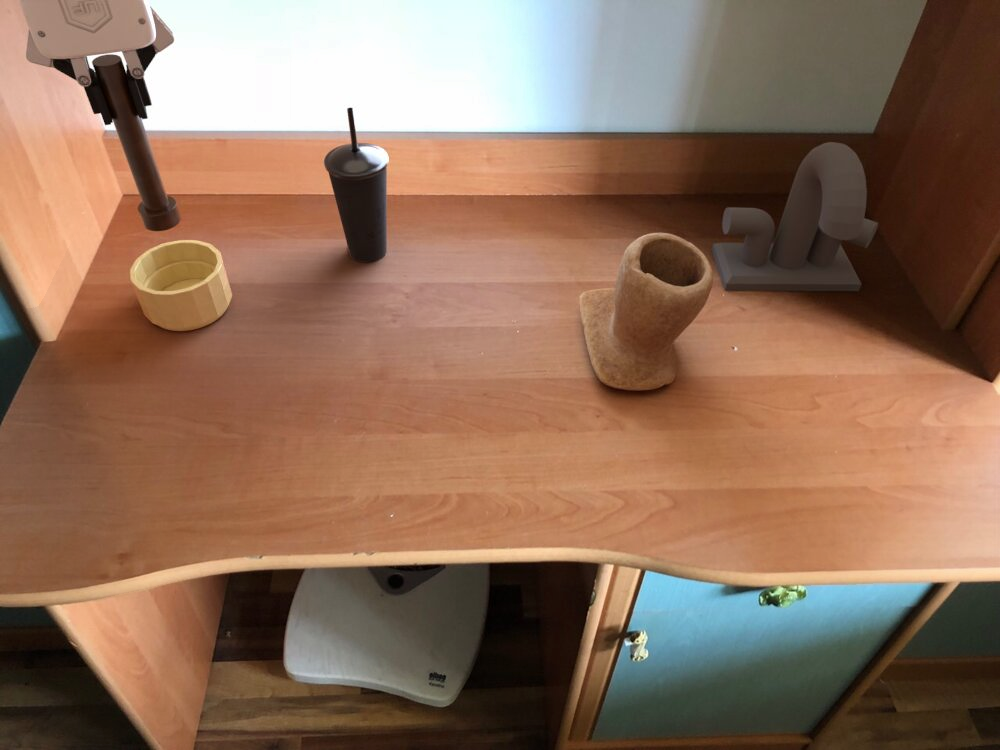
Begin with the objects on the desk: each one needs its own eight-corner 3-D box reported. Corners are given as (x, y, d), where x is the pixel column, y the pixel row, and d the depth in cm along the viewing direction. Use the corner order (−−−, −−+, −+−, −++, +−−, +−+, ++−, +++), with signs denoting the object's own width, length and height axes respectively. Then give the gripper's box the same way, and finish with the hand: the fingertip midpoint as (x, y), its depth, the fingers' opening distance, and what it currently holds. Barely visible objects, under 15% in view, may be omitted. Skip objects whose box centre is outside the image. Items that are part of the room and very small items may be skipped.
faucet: (732, 330, 95) (777, 184, 81) (706, 250, 106) (742, 110, 92) (882, 330, 95) (953, 186, 81) (841, 251, 106) (897, 111, 92)
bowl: (149, 342, 92) (133, 302, 87) (142, 289, 98) (127, 250, 94) (239, 321, 94) (227, 282, 90) (226, 271, 101) (215, 232, 97)
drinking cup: (329, 264, 102) (305, 120, 88) (351, 230, 108) (331, 89, 93) (385, 273, 101) (370, 129, 87) (404, 239, 106) (393, 97, 92)
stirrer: (144, 234, 85) (84, 72, 73) (141, 214, 88) (83, 54, 75) (183, 227, 87) (130, 66, 74) (179, 207, 89) (127, 48, 76)
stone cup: (698, 397, 87) (729, 291, 76) (591, 398, 87) (607, 292, 76) (672, 306, 98) (696, 202, 87) (576, 307, 97) (588, 203, 87)
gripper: (-61, -69, 61) (36, 148, 74) (160, -89, 65) (215, 119, 78) (-53, -97, 65) (37, 112, 79) (153, -114, 70) (205, 86, 83)
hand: (125, 114), depth 78 cm, fingers closed on stirrer, 2 cm apart
